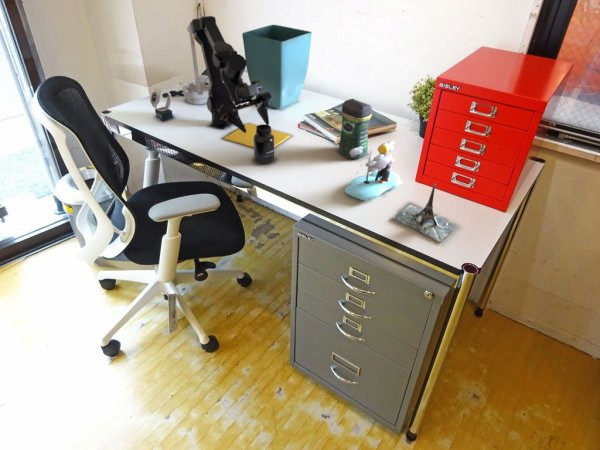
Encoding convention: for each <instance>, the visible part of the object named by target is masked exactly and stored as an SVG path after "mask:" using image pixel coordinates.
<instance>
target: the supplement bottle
mask: <svg viewBox="0 0 600 450" xmlns="http://www.w3.org/2000/svg"><path fill="white" fill-rule="evenodd" d="M271 130H272V126H271V125H270V124H269V125H266V123H263V124H259V125H257V127H256V133H257V134H255V135H254V148H253V160H254V162H255V163H256V164H258V165H262V166H266V165H271V164H273V163H274V162H275V155H276V154H275V147H274V136H273V134H271Z"/></svg>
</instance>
